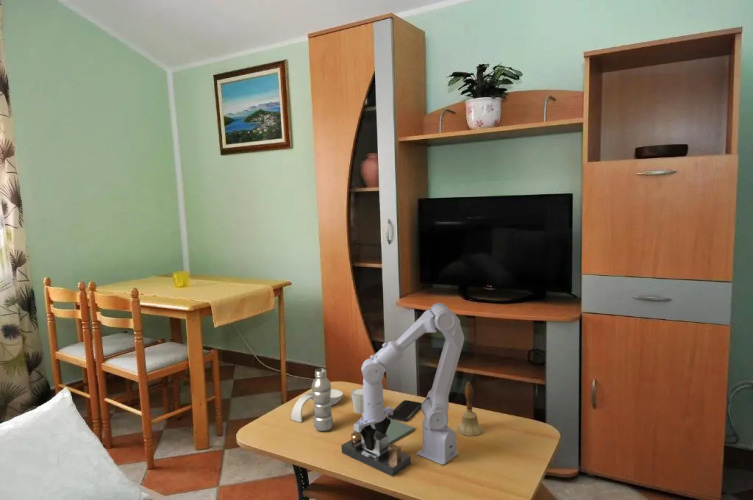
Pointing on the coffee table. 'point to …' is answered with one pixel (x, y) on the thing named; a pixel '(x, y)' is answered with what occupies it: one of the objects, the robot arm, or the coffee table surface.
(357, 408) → the grey and white cylinder
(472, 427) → the hand bell
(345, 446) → the hand plane
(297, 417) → the spoon rest
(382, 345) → the robot arm
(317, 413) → the silver metal bottle
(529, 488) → the coffee table surface
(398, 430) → the rubber mat
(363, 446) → the rectangular metal block
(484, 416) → the coffee table surface
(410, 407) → the phone
